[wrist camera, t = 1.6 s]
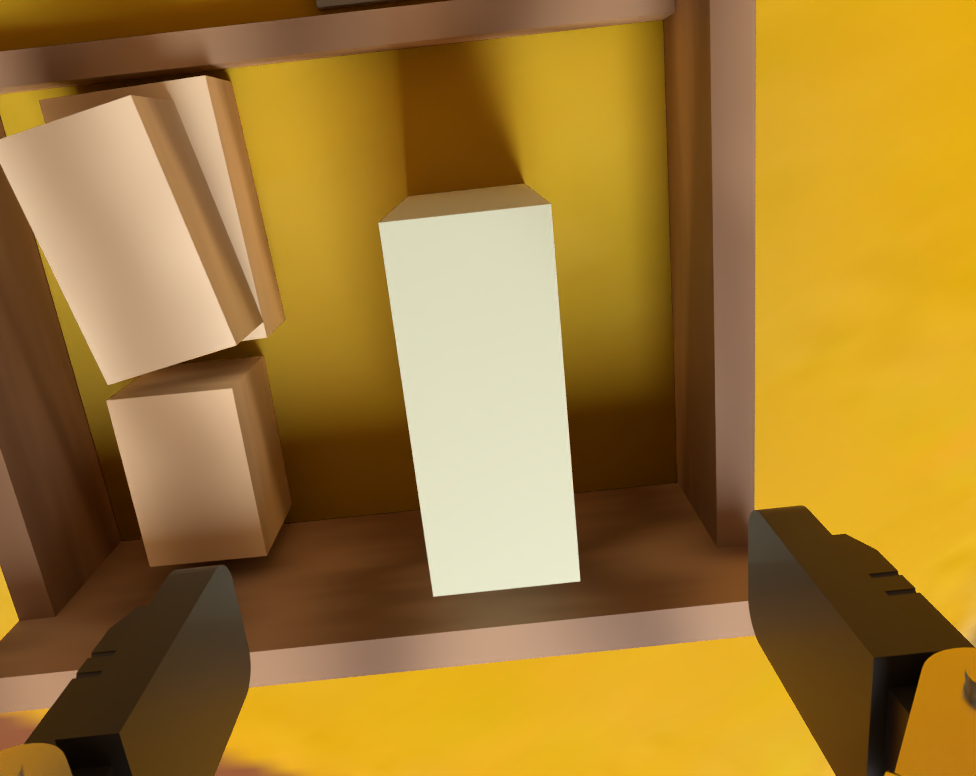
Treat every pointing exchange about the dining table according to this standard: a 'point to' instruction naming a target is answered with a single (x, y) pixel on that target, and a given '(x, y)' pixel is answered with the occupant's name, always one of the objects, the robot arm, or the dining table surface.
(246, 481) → the offcut
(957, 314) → the dining table surface
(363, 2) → the mat
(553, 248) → the block
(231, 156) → the offcut
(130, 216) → the offcut
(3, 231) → the tray
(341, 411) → the dining table surface
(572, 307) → the dining table surface
